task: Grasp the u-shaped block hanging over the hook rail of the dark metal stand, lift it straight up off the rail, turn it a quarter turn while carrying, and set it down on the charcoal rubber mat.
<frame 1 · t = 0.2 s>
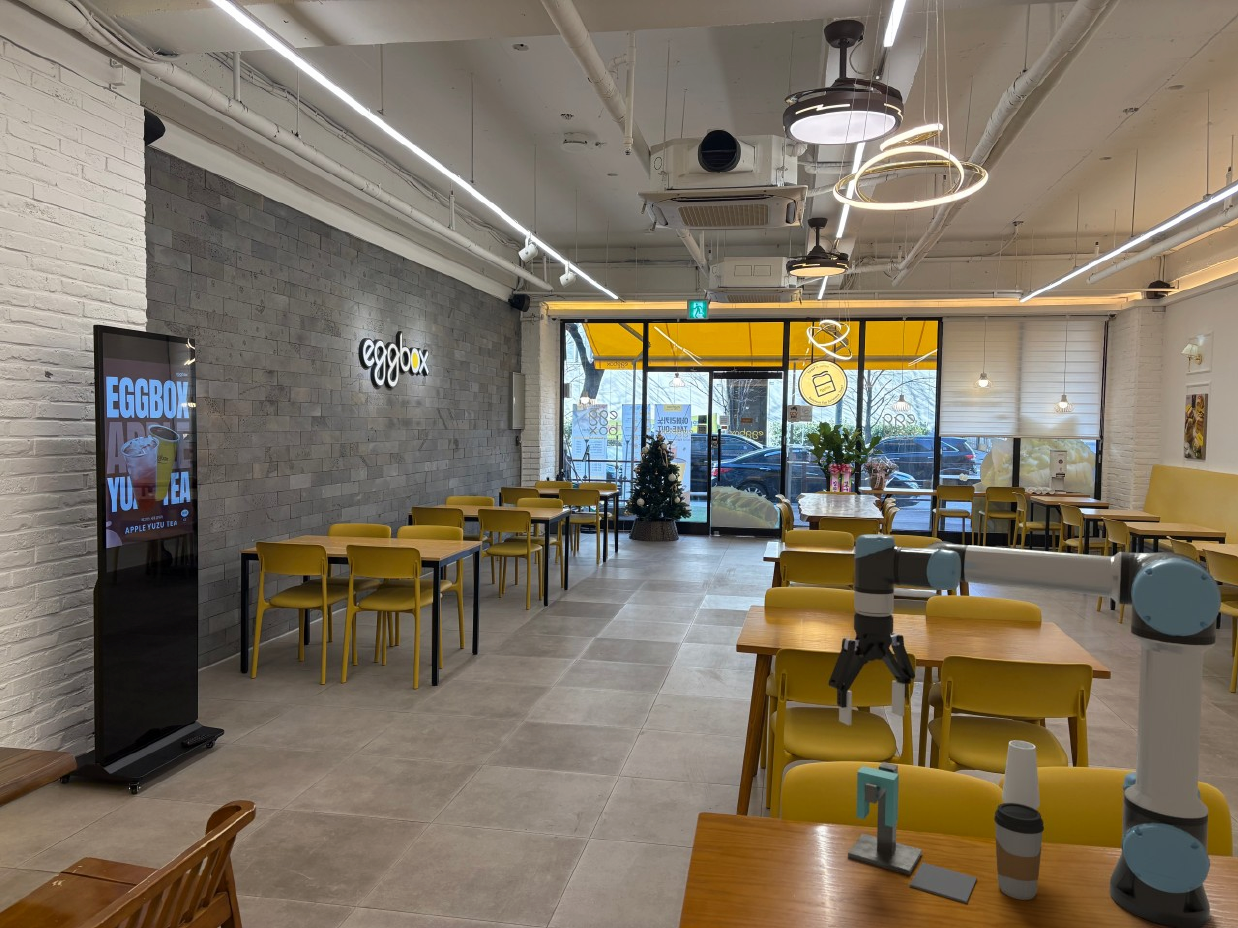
hand: (872, 718, 161), 28 cm above the table, fingers open, 13 cm apart
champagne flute: (1019, 865, 160), on the table
stand: (886, 853, 164), on the table
coffee cup: (1017, 891, 151), on the table
u-shaped block: (877, 818, 157), point 10 cm above the table, touching stand
mat: (943, 882, 153), on the table
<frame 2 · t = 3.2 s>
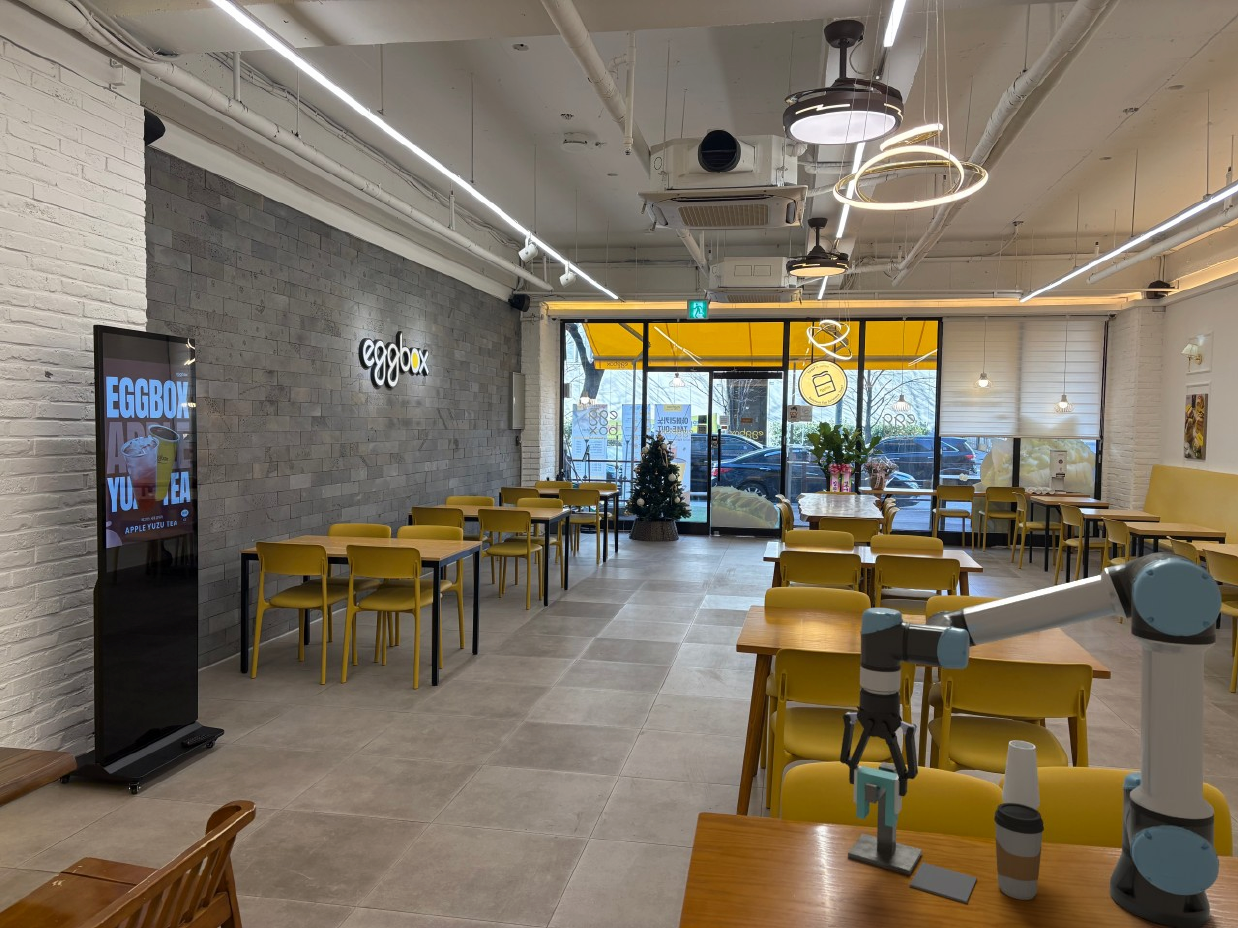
hand: (877, 805, 157), 13 cm above the table, fingers closed on u-shaped block, 7 cm apart
u-shaped block: (877, 818, 157), point 10 cm above the table, touching gripper, stand
everything else where it was.
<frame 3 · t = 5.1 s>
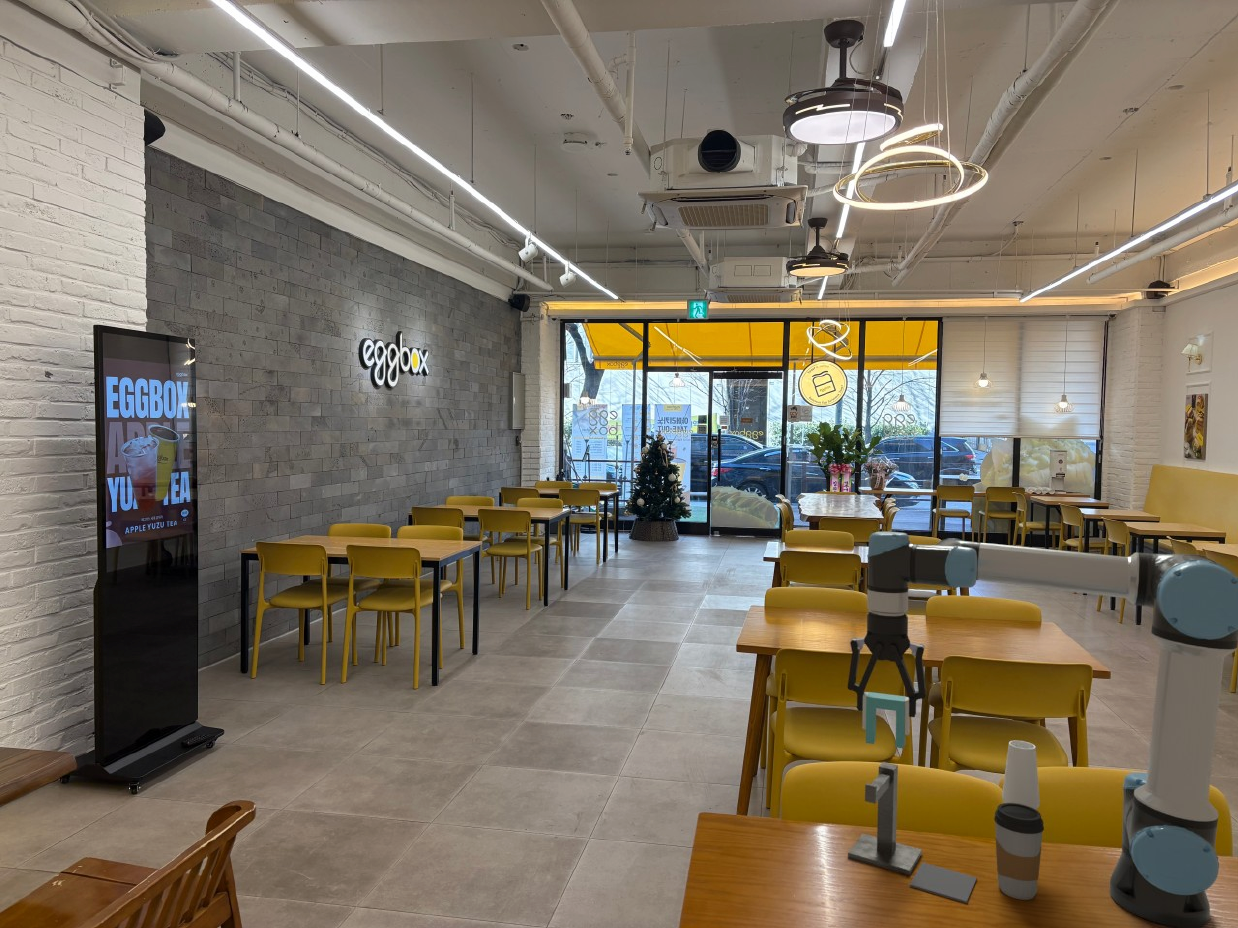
hand: (885, 729, 157), 28 cm above the table, fingers closed on u-shaped block, 7 cm apart
u-shaped block: (885, 742, 157), point 25 cm above the table, touching gripper
everything else where it was.
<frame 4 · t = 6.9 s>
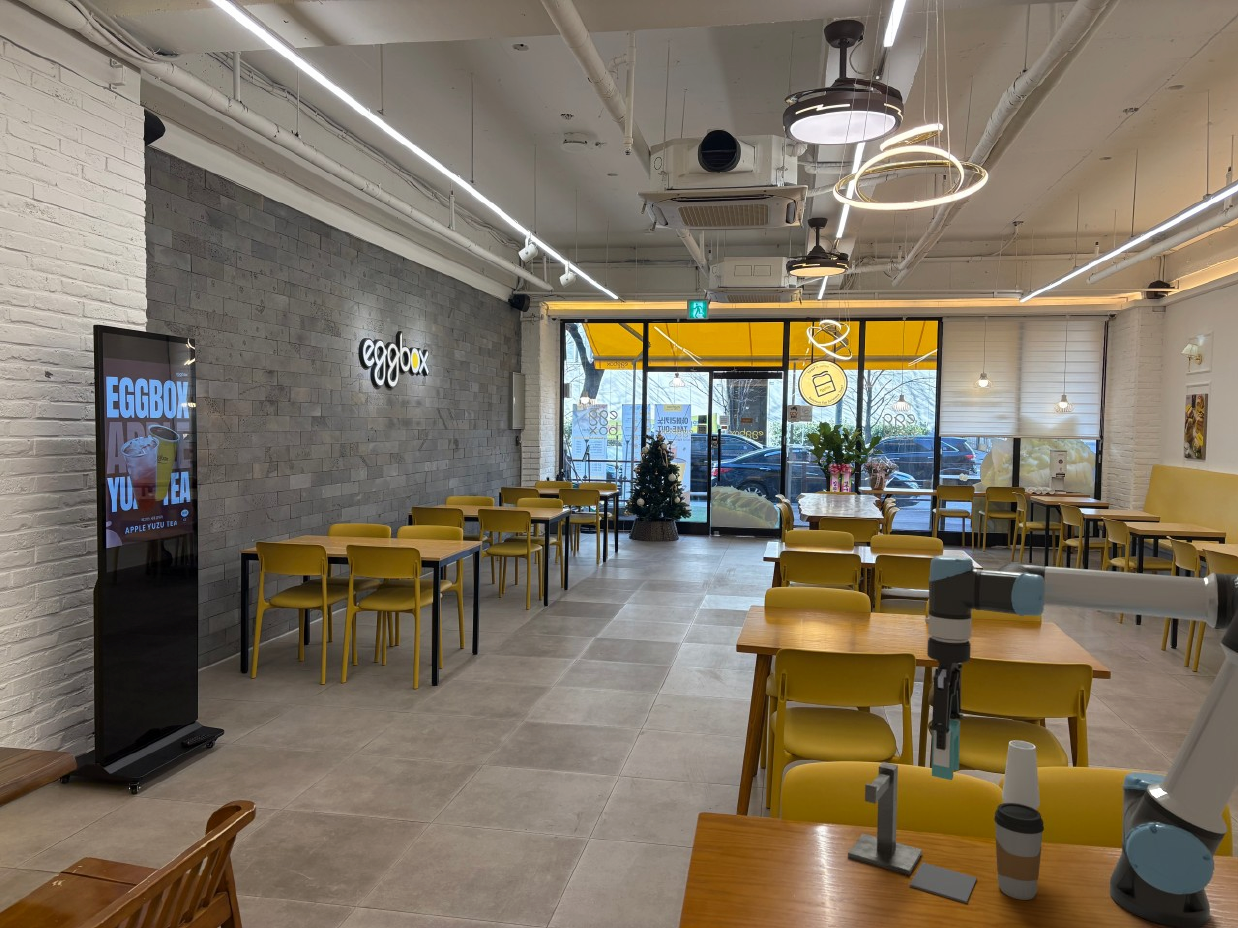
hand: (945, 758, 153), 24 cm above the table, fingers closed on u-shaped block, 7 cm apart
u-shaped block: (945, 771, 153), point 21 cm above the table, touching gripper
everything else where it was.
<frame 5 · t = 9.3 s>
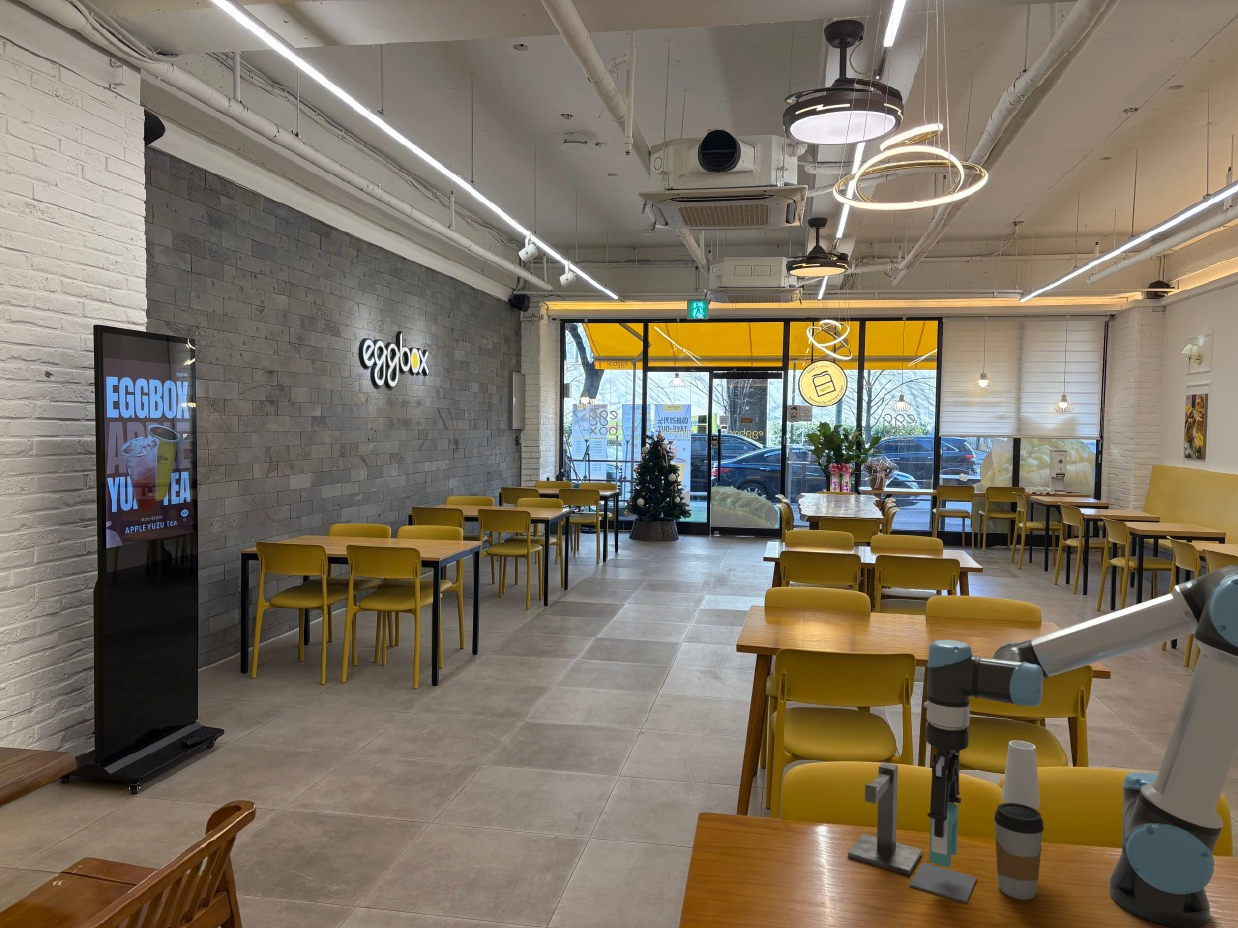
hand: (943, 843, 153), 7 cm above the table, fingers closed on u-shaped block, 7 cm apart
u-shaped block: (943, 856, 153), point 5 cm above the table, touching gripper
everything else where it was.
when the fingers open (5 cm above the table, at t = 11.0 s): u-shaped block drops 2 cm, resting on mat.
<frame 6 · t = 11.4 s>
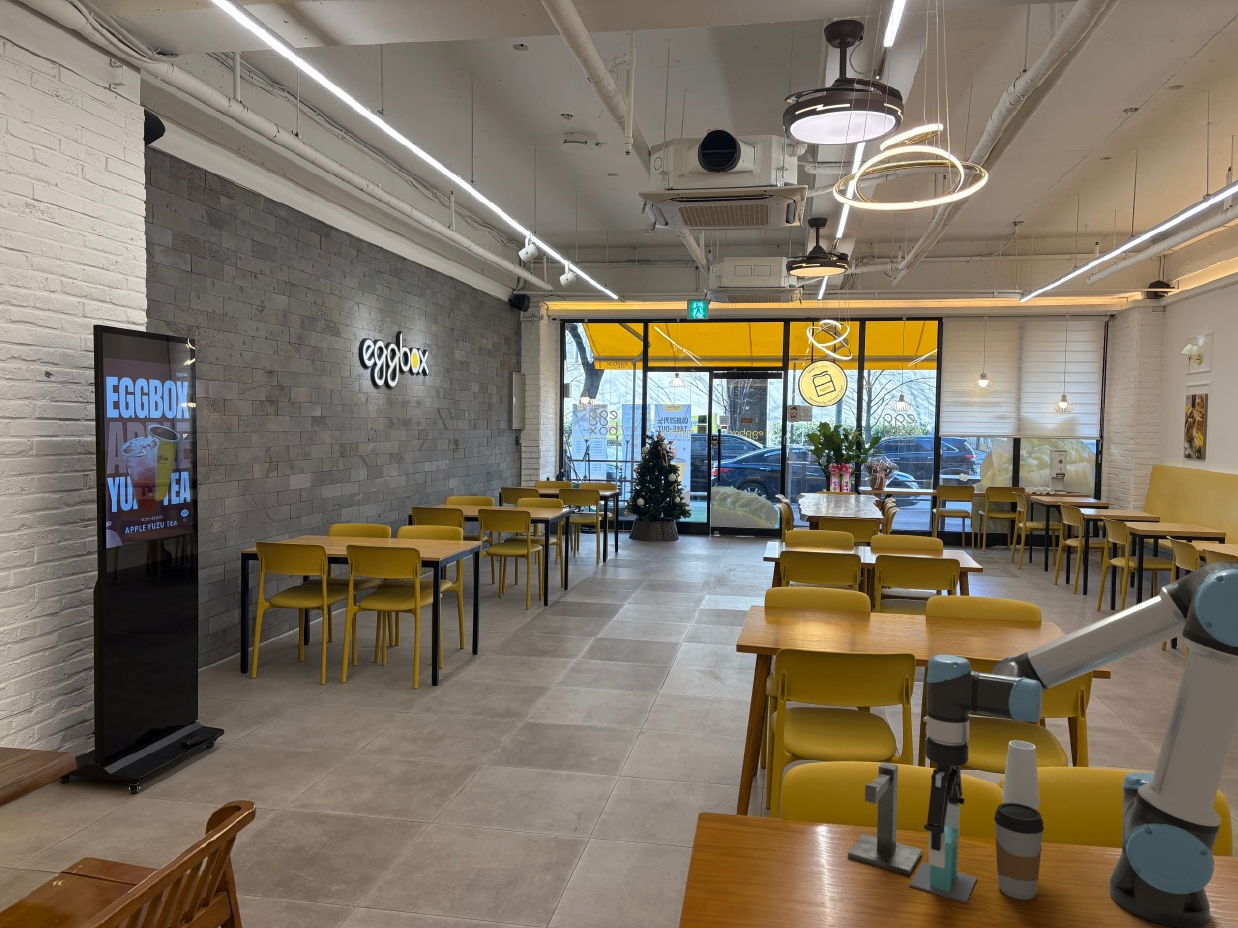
hand: (944, 850, 153), 6 cm above the table, fingers open, 13 cm apart
u-shaped block: (943, 880, 153), resting on mat
everything else where it was.
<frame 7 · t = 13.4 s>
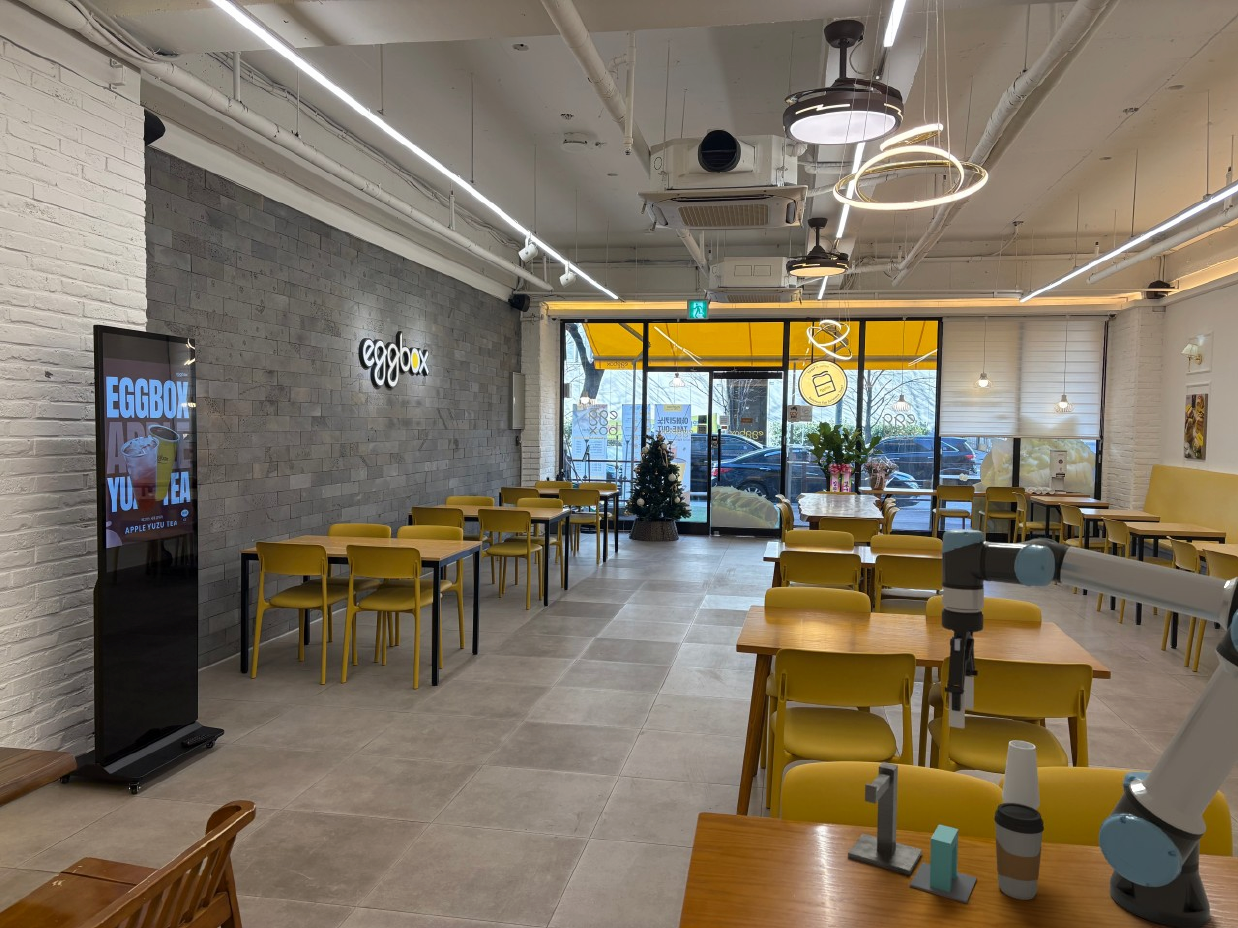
hand: (961, 717, 158), 30 cm above the table, fingers open, 13 cm apart
nothing on the table moved.
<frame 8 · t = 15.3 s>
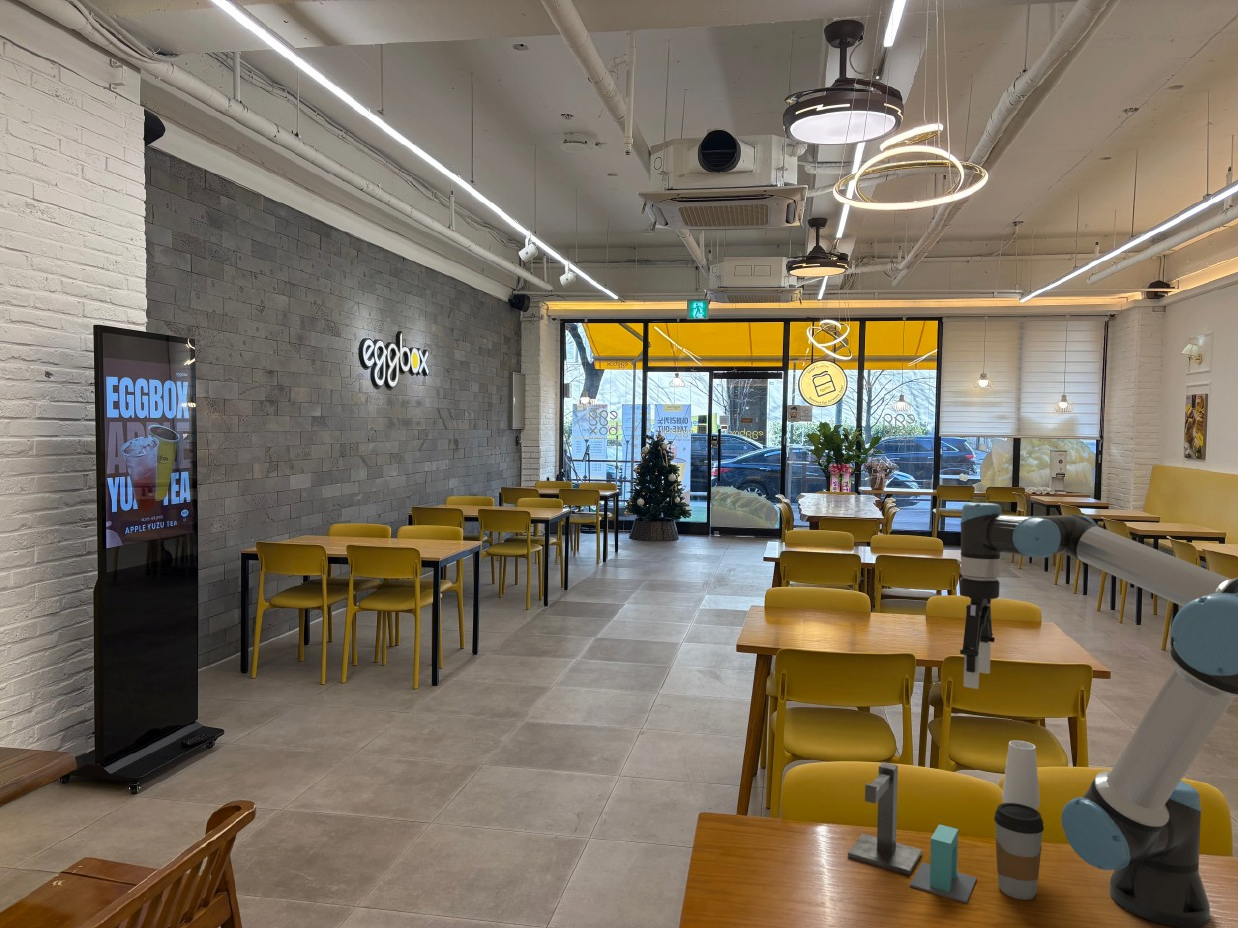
hand: (977, 679, 167), 35 cm above the table, fingers open, 13 cm apart
nothing on the table moved.
at the end: u-shaped block inside the target area on the mat (0.0 cm from its centre), point 0.4 cm above the mat's base; u-shaped block touching mat; the gripper is holding nothing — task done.
